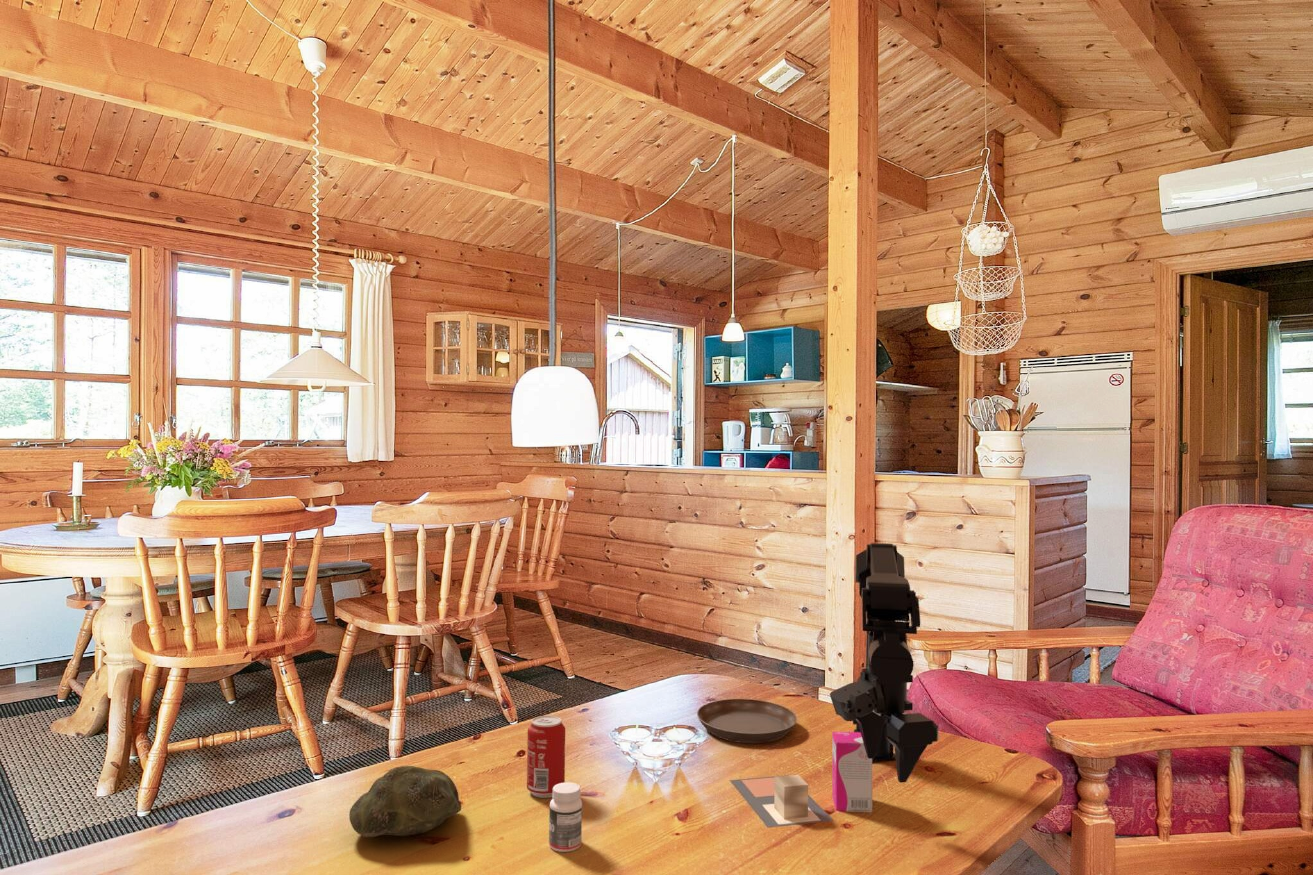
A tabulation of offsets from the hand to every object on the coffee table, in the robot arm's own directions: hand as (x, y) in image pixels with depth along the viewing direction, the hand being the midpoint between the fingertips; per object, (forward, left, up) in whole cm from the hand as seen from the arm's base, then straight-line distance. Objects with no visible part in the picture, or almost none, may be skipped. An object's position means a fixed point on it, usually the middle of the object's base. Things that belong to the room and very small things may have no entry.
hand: (886, 769), depth 122 cm
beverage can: (+48, -27, -11) cm, 56 cm away
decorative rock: (+70, -18, -11) cm, 73 cm away
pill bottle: (+47, -8, -11) cm, 49 cm away
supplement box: (0, -11, -11) cm, 15 cm away
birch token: (+11, -10, -10) cm, 18 cm away
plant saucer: (+4, -50, -11) cm, 51 cm away
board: (+11, -15, -10) cm, 21 cm away
